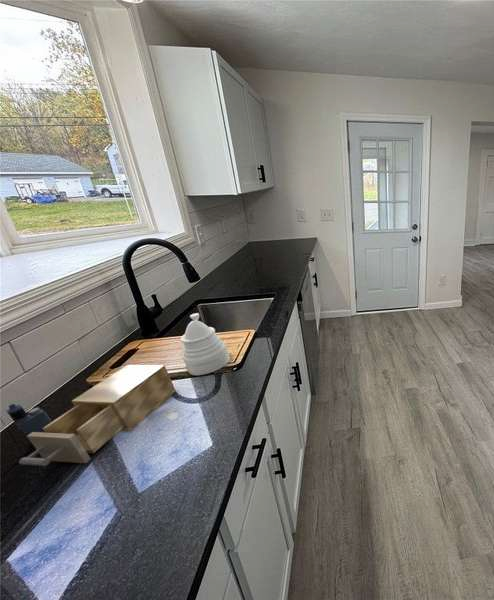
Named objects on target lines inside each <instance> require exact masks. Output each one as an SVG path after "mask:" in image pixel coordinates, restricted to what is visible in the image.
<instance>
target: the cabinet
mask: <svg viewBox="0 0 494 600" xmlns="http://www.w3.org/2000/svg"><path fill="white" fill-rule="evenodd" d="M176 391H177V390H176V388H175V386H174V383H173V381H172V379H171V377H170V374H169V372H168V370H167V368H166V365H164V364H126V365H125V366H123V367H122V368H120V369H119V370H117V371H116V372H114V373H112V374H111V375H109V376H108V377H106V378H104V379H103V380H101V381H100V382H99V383H97V384H95V385H94V386H92V387H91V388H89V389H87V390H86V391H85V392H83V393H82V394H80V395H79V396H77V397H75V398H73V399H72V400H71V403H72V405H73V406H74V407H75V406H76V405H78V404H105V405H113V406H114V408H115V410H116V412H117V413H118V415H119V417H120V419H121V420H122V422H123V424H124V426H125V427H124V428H123V429H122V430H120V431H119V432H131V431H132V430H134V428H136V427H137V426H138V425H139V424H140V423H141V422H143V421H144V420H145V419H146V418H148V417H149V415H151V414H153V412H154V411H155V410H157V409H158V408H159V407H160V406H161V405H162V404H164V402H165V401H167V400H168V399H169V398H170V397H171V396H172V395H174V394H175V393H176Z"/></svg>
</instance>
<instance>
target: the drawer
mask: <svg viewBox="0 0 494 600" xmlns="http://www.w3.org/2000/svg"><path fill="white" fill-rule="evenodd" d="M124 427H125V426H124V424H123V422H122V420H121V419H120V417H119V415H118V413H117V412H116V410H115V408H114V406H113V405H105V404H78V405H76V406H74V407H72V408H70V409H69V410H67V411H66V412H65V413H63V414H62V415H60V416H58V417H57V418H56V419H53V421H52V422H51V423H50V424H48V425H47V426H45V427H44V428H43V430H44V431H45V432H46V433H42V432H32V433H31V434H29V435H28V436H27V437H28V438H27V437H26V438H27V439H28V441H29V440H30V441H31V442H30V441H29V442H30V443H31V444H32V446H33V447H34V448H35V451H33V452H32V453H30V454H29V455H28V456H24V457H21V458H20V459H19V461H18V464H19V465H23V466H36V467H37V466H38V467H46V466H48V465H49V464H50V462H58V463H59V462H62V463H76V464H87V463H88V462H90V460H91V459H92V458H91V457H90V455H89V454H94V453H96V451H98V450H99V449H100V448H101V447H103V446H104V445H105V444H106V443H108V442H109V441H110V440H111V439H112V438H113V437H114V436H116V435H117V434H118V433H119V432H121V431H120V430H122V429H123V428H124ZM37 455H40V457H36V456H37Z"/></svg>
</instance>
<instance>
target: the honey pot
mask: <svg viewBox="0 0 494 600" xmlns="http://www.w3.org/2000/svg"><path fill="white" fill-rule="evenodd" d="M189 318H190V319H191V321H190V322H189V323H188V324H187V326H186V329H185V332H184V334H183V335H182V336H181V337H180V342H181V343H183V347H182V354H183V355H182V361H183V363H184V365H185V368H186V370H187V373H188V374H189V375H192V376H203V375H208V374H211V373H214V372H215V371H218V370H220V369H222V368H223V367H225V366H226V365H227V364H228V363H229V362H230V361H231V360H230V359H231V356H230V353H229V351H228V348H227V345H226V343H225V342H224V341H222V339H221V338H220V336H219V335H218V334H216V329H215V328H214V327H213V326H208V325H206V324H205V323H203V321H200V320H199V319H200V313H199V312H196V313H192V314H190V315H189Z"/></svg>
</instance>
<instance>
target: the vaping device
mask: <svg viewBox="0 0 494 600" xmlns="http://www.w3.org/2000/svg"><path fill="white" fill-rule="evenodd" d="M6 413H7V414H8V416H9V417H10V418H11V420H12V421H13V422H14V424H15V426H17V429H19V430H20V431H22V433H23V434H24V435H25V437H26V438H27V439H28V437H27V436H28V435H29V434H31V433H32V432H42V433H46V432H45V431H44V430H43V428H44V427H45V426H47V425H48V424H50V423H51V422H53V421H52V419H51V418H50V417H49V415H48V414H47V413H46V411H45V410H43V409H41V408H40V407H34V408H31V409H29V410H28V411H27V412H26V410H25V409H24V407H23V406H22V405H21V404H17V405H16V403H12V404H10V405H8V408H7V410H6ZM28 441H29V442H30V443H31V441H30V440H29V439H28Z"/></svg>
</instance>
